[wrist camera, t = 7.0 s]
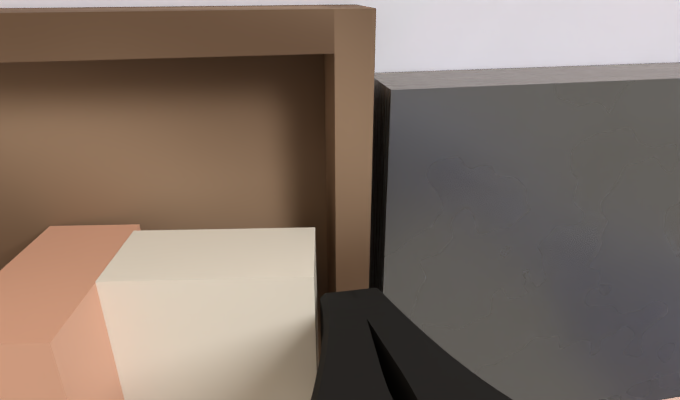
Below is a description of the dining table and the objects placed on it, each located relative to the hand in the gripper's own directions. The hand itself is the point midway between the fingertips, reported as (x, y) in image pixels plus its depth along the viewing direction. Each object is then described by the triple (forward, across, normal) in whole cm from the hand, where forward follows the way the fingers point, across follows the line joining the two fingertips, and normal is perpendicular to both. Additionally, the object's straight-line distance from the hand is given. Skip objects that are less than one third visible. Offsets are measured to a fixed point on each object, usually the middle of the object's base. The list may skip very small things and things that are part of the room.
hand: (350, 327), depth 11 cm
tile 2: (+2, +2, 0) cm, 3 cm away
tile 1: (0, +5, 0) cm, 5 cm away
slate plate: (+3, -7, 0) cm, 8 cm away
